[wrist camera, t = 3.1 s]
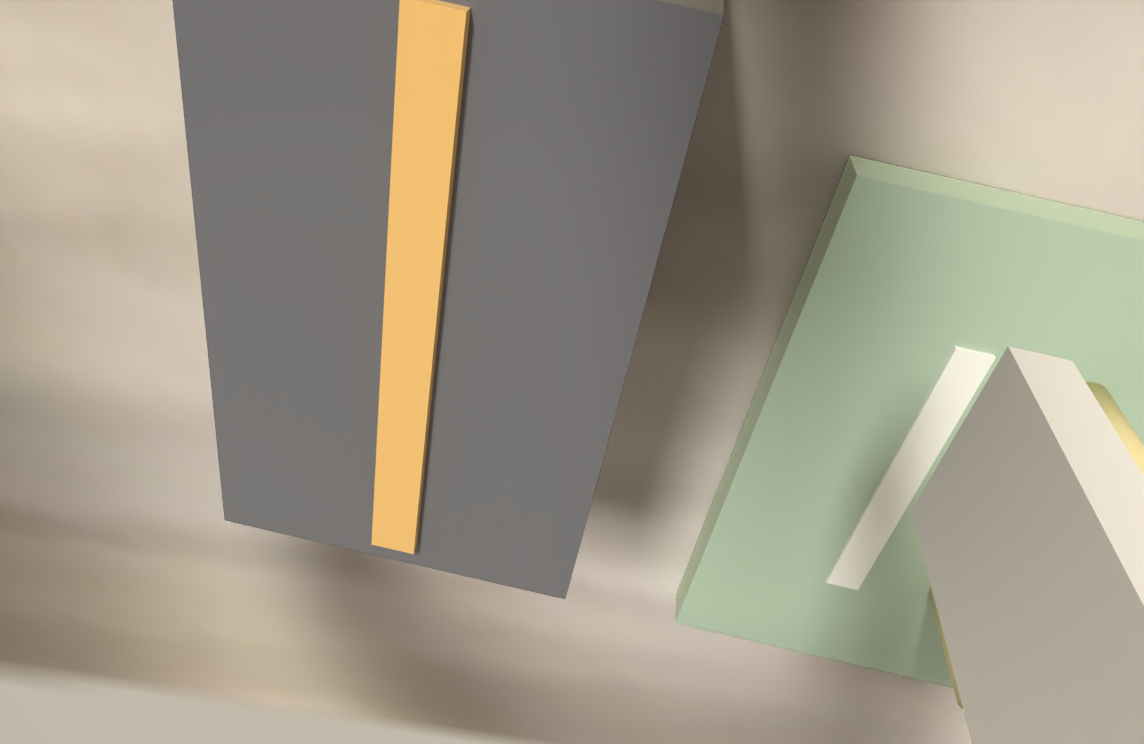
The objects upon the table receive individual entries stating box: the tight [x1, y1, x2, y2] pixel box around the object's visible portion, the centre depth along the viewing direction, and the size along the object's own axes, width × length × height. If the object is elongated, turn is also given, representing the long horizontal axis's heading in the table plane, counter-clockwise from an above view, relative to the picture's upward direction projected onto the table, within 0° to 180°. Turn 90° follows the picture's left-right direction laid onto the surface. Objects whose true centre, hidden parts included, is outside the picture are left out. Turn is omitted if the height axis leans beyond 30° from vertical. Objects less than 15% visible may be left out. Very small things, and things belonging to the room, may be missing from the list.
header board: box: [675, 155, 1144, 710], centre depth 18 cm, size 13×12×4 cm
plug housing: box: [173, 0, 724, 599], centre depth 13 cm, size 8×5×8 cm, turn 170°
